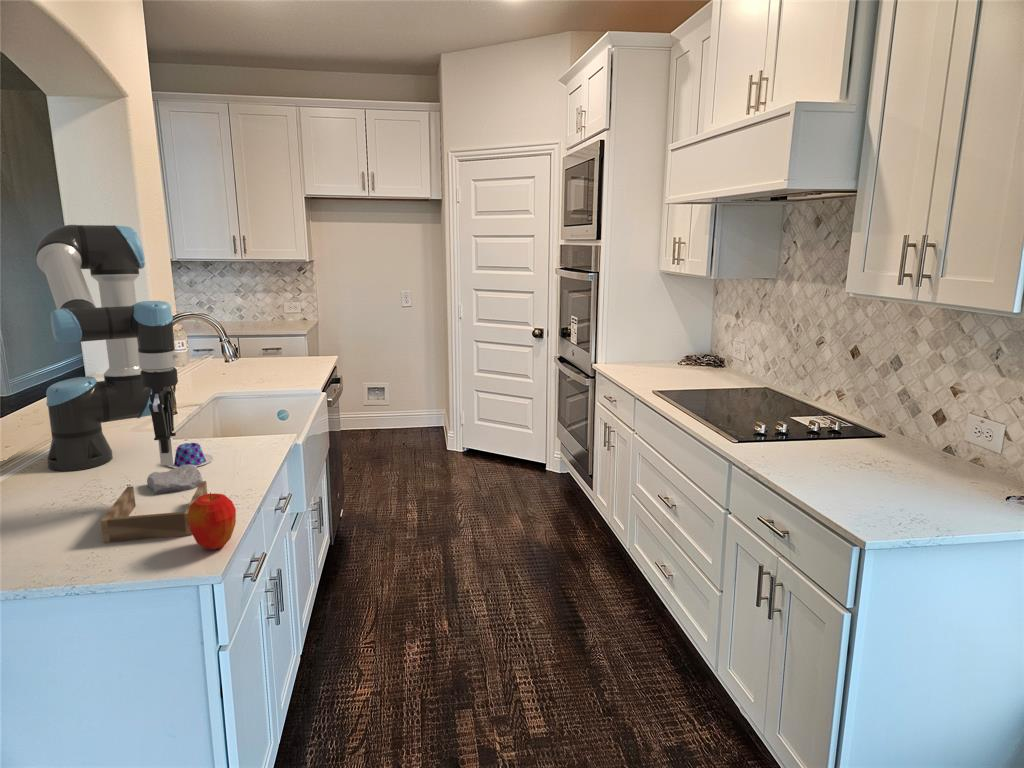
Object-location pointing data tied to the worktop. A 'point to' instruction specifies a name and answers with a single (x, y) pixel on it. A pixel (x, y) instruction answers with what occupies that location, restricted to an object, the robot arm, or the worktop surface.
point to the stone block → (175, 479)
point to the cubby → (144, 520)
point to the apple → (212, 520)
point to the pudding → (190, 455)
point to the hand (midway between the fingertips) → (167, 463)
